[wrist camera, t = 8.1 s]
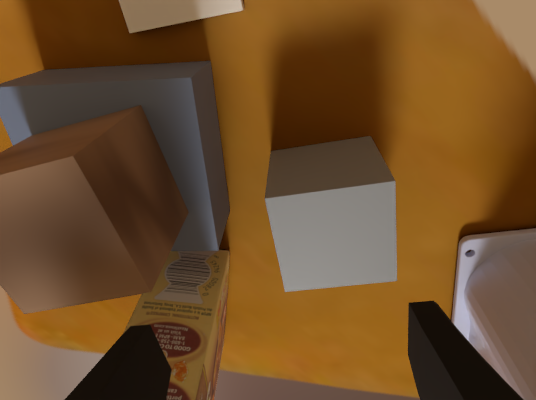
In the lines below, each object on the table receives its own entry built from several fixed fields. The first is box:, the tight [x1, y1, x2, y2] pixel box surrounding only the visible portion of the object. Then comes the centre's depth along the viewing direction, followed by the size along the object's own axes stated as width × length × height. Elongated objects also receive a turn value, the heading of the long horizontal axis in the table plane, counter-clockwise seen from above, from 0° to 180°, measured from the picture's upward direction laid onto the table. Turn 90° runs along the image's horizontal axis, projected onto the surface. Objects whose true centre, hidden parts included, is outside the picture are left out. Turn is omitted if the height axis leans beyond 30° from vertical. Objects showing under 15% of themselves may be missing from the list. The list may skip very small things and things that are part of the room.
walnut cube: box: [0, 105, 189, 314], centre depth 13 cm, size 5×5×5 cm
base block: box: [0, 61, 230, 251], centre depth 17 cm, size 8×8×4 cm
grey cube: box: [265, 136, 397, 292], centre depth 17 cm, size 5×5×5 cm
